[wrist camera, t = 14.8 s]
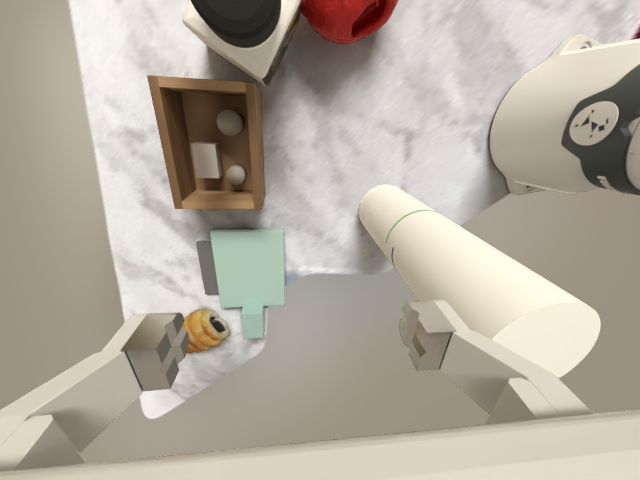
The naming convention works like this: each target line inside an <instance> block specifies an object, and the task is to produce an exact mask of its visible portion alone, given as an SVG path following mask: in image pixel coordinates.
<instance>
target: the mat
mask: <svg viewBox="0 0 640 480" xmlns="http://www.w3.org/2000/svg"><path fill="white" fill-rule="evenodd" d="M196 245H197V250H198V256H199V261H200V267H201V272H202V278H203V283H204V289H205V294H219V290H218V283H217V277H216V270H215V263H214V257H213V250H212V243H211V241H197V243H196Z"/></svg>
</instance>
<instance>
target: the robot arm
mask: <svg viewBox="0 0 640 480" xmlns="http://www.w3.org/2000/svg"><path fill="white" fill-rule="evenodd" d="M490 151H491V156H492V159H493V161H494V163H495V165H496V167H497V168H498V169H499V170H500V171H501V172H502V173H503V174H504V176H505V177H506V180H507V185H508V189H509V191H510V192H511V193H512V194H517V195H522V194H527V193H533V192H538V191H543V190H551V191H555V192H560V193H564V194H570V195H575V194H576V193H577V192H585V191H589V190H593V189H596V188H599V187H600V188H605V189H609V190H611V191H614V192H618V193H623V194H635V195H640V39H636V40H630V41H624V42H619V43H613V44H607V45H604V44H602V43H600V42H598V41H595V40H593V39H591V38H589V37H586V36H584V35H575V36H570V37H568V38H567V39H566V40H565V41H563V42H562V43H561V45H560V46H559V47H558V48H557V49H556V50H555V51H554V52H553V54H552V55H551V56H550V57H549V58H548V59H547V60H546V61H544V62H543V63H541V64H540V65H538V66H536V67H535V68H533V69H532V70H530V71H529V72H527V73H526V74H525V75H524V76H523V77H521V78H520V79H519V80H518V81H517V82H516V83H515V85H514V86H513V87H512V88H511V89H510V90H509V92H508V93H507V95H506V96H505V98H504V99H503V101H502V102H501V104H500V106H499V108H498V110H497V112H496V115H495V117H494V120H493V124H492V128H491V133H490ZM526 185H527V186H526ZM402 310H403V313H404V316H403V317H402V319H400V325H399V330H400V336H401V339H402V341H403V344H404V345H405V346H407V347H408V348H409V349H410V352H409V356H410V358H411V360H412V362H413V364H414V366H415V368H416V370H417V371H419V370H440V372H441V373H443V374H444V375H445V376H446V377H447V378H448V379H449V380H451V381H452V382H453V383H454V384H455V385H456V386H458V387H459V388H460V389H461V390H462V391H463V392H464V393H465V394H467V395H468V396H469V397H470V398H471V399H472V400H473V401H475V402H476V403H477V404H478V405H479V406H480V407H481V408H483V409H484V410H485V411H486V412H487V413H488V414H490V416H489V418H488V419H487V421H486V423H485V425H476V426H466V427H456V428H445V429H435V430H425V431H414V432H406V433H405V432H404V433H394V434H384V435H373V436H363V437H353V438H343V439H333V440H322V441H312V442H302V443H293V444H282V445H271V446H261V447H251V448H241V449H231V450H220V451H210V452H201V453H190V454H180V455H169V456H158V457H148V458H138V459H127V460H117V461H107V462H97V463H87V461H86V460H85V459H84V457H83V456H82V455H81V452H82V451H83V450H84V449H85V448H86V447H87V446H88V445H89V444H90V443H91V442H92V441H93V440H94V439H95V438H96V437H97V436H98V435H99V434H100V433H101V432H102V431H104V429H106V428H107V427H108V426H109V424H111V423H112V422H113V421H114V420H115V419H116V418H117V417H118V416H119V415H120V414H121V413H122V412H123V411H124V410H125V409H126V408H127V407H129V405H130V404H132V403H133V402H134V401H135V400H136V399H137V398H138V397H139V396H140V395H141V394H142V393H143V392H142V391H152V390H162V389H171V387H172V385H173V382H174V380H175V378H176V376H177V373H178V371H179V368H178V365H177V364H178V363H179V362H180V361H182V360H183V359H184V358H185V355H186V353H187V350H188V345H189V335H188V331H187V330H186V329H185V328H183V327H182V325H183V323H184V318H183V315H182V314H181V313H150V314H134V315H132V316H130V317H129V318H128V319H127V321H126V322H125V323H124V324H123V326H122V327H121V328H120V329H119V330H118V332H117V333H116V334H115V335H114V337H113V338H112V339H111V340H110V342H109V343H108V344H107V345H106V347H105V348H104V349H103V350H102V351H101V353H95V354H93V355H91V356H89V357H88V358H86V359H85V360H83V361H81V362H80V363H78V364H76V365H75V366H73V367H71V368H70V369H68V370H66V371H65V372H63V373H61V374H60V375H58V376H56V377H55V378H53V379H51V380H50V381H48V382H47V383H45V384H43V385H41V386H40V387H38V388H36V389H35V390H33V391H31V392H30V393H28V394H26V395H25V396H23V397H21V398H20V399H18V400H16V401H15V402H13V403H11V404H10V405H8V406H6V407H5V408H3V409H2V410H0V480H640V410H631V411H621V412H610V413H600V414H593V413H592V412H591V411H590V410H589V409H588V408H587V407H586V406H585V405H584V404H583V403H582V402H581V401H580V400H579V399H578V398H577V397H576V396H575V395H574V394H573V393H572V392H571V391H570V390H569V389H568V388H567V387H566V386H565V385H564V384H563V383H562V382H561V381H560V380H559V379H558V378H557V377H556V376H555V375H554V374H553V373H551V372H549V371H547V370H545V369H543V368H542V367H540V366H538V365H536V364H534V363H533V362H531V361H529V360H527V359H525V358H524V357H522V356H520V355H518V354H516V353H514V352H513V351H511V350H509V349H507V348H505V347H504V346H502V345H500V344H498V343H496V342H494V341H493V340H491V339H489V338H487V337H485V336H484V335H482V334H480V333H478V332H476V331H471V330H470V329H469V328H468V327H467V325H466V324H465V323H464V322H463V321H462V319H461V318H460V317H459V316H458V315H457V313H456V312H455V311H454V310H453V309H452V307H451V306H450V305H449V304H448V303H447V302H446V301H445V300H434V301H421V302H405V304H404V305H403V309H402Z"/></svg>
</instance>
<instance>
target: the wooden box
mask: <svg viewBox="0 0 640 480" xmlns="http://www.w3.org/2000/svg"><path fill="white" fill-rule="evenodd" d="M147 77H148V82H149V86H150V91H151V96H152V101H153V106H154V110H155V115H156V120H157V125H158V130H159V134H160V139H161V144H162V149H163V154H164V158H165V163H166V168H167V173H168V178H169V182H170V187H171V192H172V197H173V202H174V206H175V209H262V205H263V201H264V197H265V179H264V158H263V137H262V116H261V96H260V88H259V87H258V86H257V85H256V84H255V83H253V82H238V81H223V80H208V79H193V78H178V77H163V76H148V75H147Z"/></svg>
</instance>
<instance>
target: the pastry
mask: <svg viewBox="0 0 640 480" xmlns="http://www.w3.org/2000/svg"><path fill="white" fill-rule="evenodd" d="M182 327H183V328H185V329H186V330H187V331H188V335H189V345H188V350H187V353H192V352H197V353H198V352H200V351H202V350H203V351H206V350H208V349H209V348H210V347H216V346H218V345H219V344H220V343H221V342H222V340H223V339H225V338H226V337H227V336H229V335H230V329H229V326H228V324H227V323H226V321H225V320H223V319H222V318H220V317H219V316H218V314H217V313H216V312H215V311H213V310H206V309H202V310H197V311H195V312H193V313H190V314H189V315H188V316H187V317H186V318H184V323H183V325H182Z"/></svg>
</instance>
